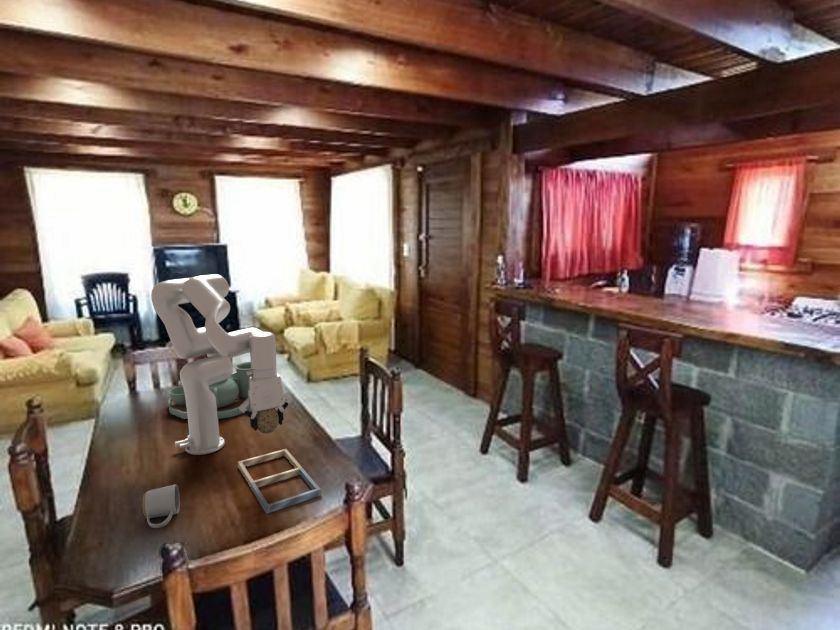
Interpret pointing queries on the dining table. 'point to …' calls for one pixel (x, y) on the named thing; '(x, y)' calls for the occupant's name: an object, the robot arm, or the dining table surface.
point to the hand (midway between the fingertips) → (267, 425)
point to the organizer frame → (278, 477)
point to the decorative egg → (267, 420)
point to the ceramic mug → (161, 504)
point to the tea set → (218, 394)
